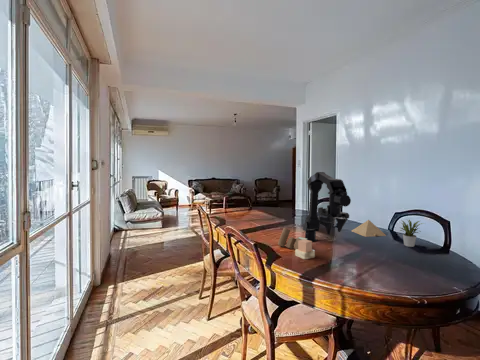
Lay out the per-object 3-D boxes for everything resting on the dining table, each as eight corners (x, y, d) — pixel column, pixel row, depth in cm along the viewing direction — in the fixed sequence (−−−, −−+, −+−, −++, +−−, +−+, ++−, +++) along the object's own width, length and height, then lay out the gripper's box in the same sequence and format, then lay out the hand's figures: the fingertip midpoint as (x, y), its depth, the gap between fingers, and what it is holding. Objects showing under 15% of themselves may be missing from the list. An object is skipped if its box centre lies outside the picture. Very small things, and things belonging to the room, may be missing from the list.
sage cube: (299, 245, 168) (299, 237, 168) (306, 247, 165) (307, 238, 165) (295, 247, 164) (295, 238, 164) (303, 249, 161) (303, 240, 161)
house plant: (428, 245, 170) (429, 218, 169) (423, 250, 160) (424, 222, 159) (401, 241, 180) (402, 215, 178) (395, 245, 169) (396, 218, 168)
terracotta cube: (304, 248, 152) (304, 239, 151) (311, 250, 148) (312, 241, 147) (298, 250, 148) (298, 240, 148) (305, 252, 145) (306, 242, 144)
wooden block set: (301, 254, 159) (308, 237, 160) (291, 250, 154) (297, 232, 156) (280, 245, 174) (286, 229, 175) (270, 241, 169) (276, 225, 171)
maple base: (305, 254, 153) (305, 247, 153) (314, 257, 147) (314, 251, 147) (295, 255, 150) (295, 249, 150) (304, 260, 144) (304, 253, 144)
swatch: (306, 248, 163) (306, 247, 163) (315, 250, 158) (315, 249, 158) (299, 249, 159) (299, 249, 159) (308, 252, 154) (308, 251, 154)
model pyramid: (365, 237, 189) (366, 222, 188) (350, 231, 205) (350, 217, 205) (387, 236, 192) (388, 221, 191) (370, 230, 209) (371, 217, 208)
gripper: (332, 200, 160) (331, 227, 161) (310, 203, 149) (310, 232, 150) (350, 202, 152) (349, 231, 153) (329, 205, 140) (328, 237, 141)
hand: (333, 233), depth 149 cm, fingers open, 9 cm apart
